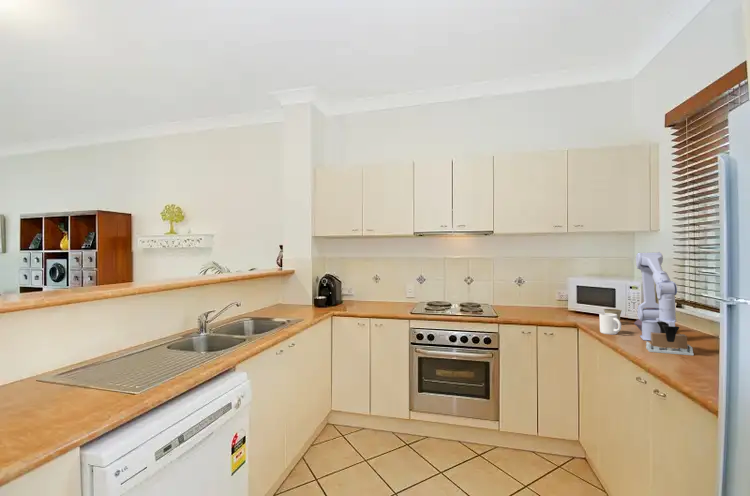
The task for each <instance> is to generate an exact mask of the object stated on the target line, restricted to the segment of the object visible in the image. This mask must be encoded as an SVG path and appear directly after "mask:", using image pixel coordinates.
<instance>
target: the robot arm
mask: <svg viewBox="0 0 750 496" xmlns="http://www.w3.org/2000/svg"><path fill="white" fill-rule="evenodd" d="M663 261H664V257H663V254H662V252H660V251H658V252H638V253H636V255H635V263H636V264H635V265H636V269H638V270H640V273H641V281H642V292H643V293H642V294H643V302H641V303H639V304H638V305H637V318H638V319H639V320H640V321H642V331H641V335H639V337H640V338H641V340H643V341H646V342H651V332H653V333H660V329H661V332H662V333H666V338H667V341H668V342H674V340H675V336H676V334H678V333H677V332H678V331H679V329H680V327H679V326H678V325H676V323H677V319H676V318H677V316H676V315H677V314H676V296H677V294H678V286H677V283H676V282H674V280H671V279H670V277H669V274H668V272H667V271H666V270H665V271H664V270H663V268H662V263H663ZM656 297H657V299H658V302H657V300H656ZM646 308H656V309H646ZM638 319H637V320H638Z"/></svg>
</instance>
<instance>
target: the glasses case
mask: <svg viewBox="0 0 750 496" xmlns="http://www.w3.org/2000/svg"><path fill="white" fill-rule="evenodd" d="M650 344H651V345H652V346H656V347H663V348H666V347H669V348H676V349H678V348H682V349H687V344H688V336H687V335H686V334H682V333H676V336H675V340H674V342H668V341H667V338H666V333H653V332H651V341H650Z"/></svg>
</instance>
